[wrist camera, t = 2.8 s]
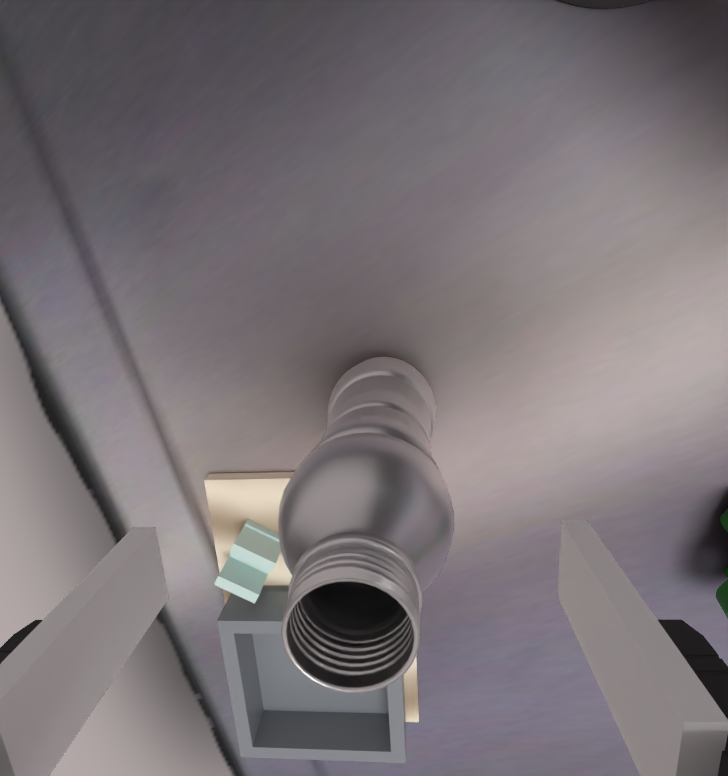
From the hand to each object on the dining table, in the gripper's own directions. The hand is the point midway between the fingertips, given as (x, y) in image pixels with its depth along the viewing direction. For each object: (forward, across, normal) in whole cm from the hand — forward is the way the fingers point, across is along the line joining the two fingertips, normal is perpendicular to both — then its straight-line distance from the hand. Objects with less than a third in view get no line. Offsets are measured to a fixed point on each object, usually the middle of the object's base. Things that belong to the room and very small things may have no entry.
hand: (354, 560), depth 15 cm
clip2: (+16, -9, -10) cm, 21 cm away
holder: (+16, -5, -19) cm, 25 cm away
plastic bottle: (+17, 0, 0) cm, 17 cm away
